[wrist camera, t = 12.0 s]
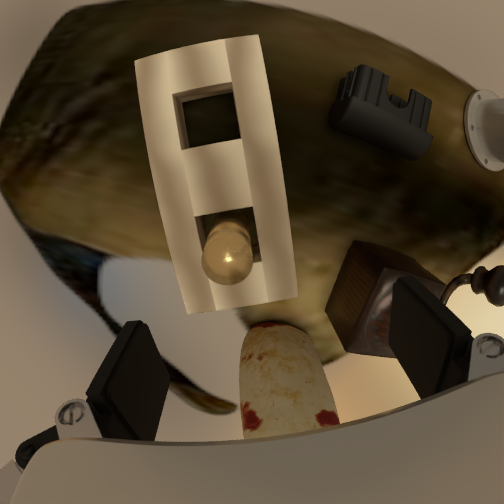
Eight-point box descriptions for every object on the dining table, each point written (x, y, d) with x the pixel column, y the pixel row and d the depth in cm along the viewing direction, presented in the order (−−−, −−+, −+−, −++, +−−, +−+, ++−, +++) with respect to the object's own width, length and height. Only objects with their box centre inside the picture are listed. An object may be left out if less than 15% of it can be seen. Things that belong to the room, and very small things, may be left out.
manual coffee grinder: (387, 323, 39) (448, 408, 22) (322, 311, 37) (370, 414, 20) (430, 224, 34) (526, 277, 17) (365, 198, 32) (466, 246, 15)
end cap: (323, 129, 30) (344, 125, 23) (337, 75, 27) (360, 59, 21) (396, 159, 31) (427, 163, 24) (409, 108, 29) (440, 103, 22)
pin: (245, 205, 32) (248, 232, 22) (250, 240, 33) (256, 280, 23) (209, 212, 32) (196, 241, 22) (216, 245, 33) (207, 289, 23)
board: (255, 50, 26) (258, 34, 21) (290, 277, 35) (298, 297, 30) (148, 72, 26) (134, 60, 22) (193, 293, 35) (187, 314, 31)
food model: (315, 316, 37) (365, 439, 18) (303, 355, 39) (337, 475, 21) (241, 310, 36) (245, 445, 18) (235, 350, 39) (235, 479, 20)
